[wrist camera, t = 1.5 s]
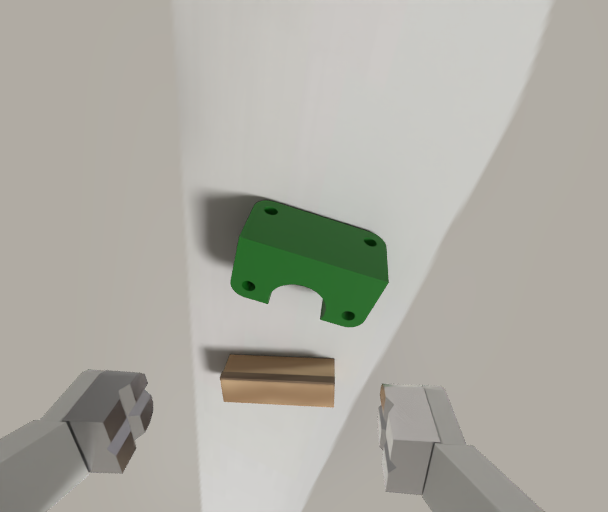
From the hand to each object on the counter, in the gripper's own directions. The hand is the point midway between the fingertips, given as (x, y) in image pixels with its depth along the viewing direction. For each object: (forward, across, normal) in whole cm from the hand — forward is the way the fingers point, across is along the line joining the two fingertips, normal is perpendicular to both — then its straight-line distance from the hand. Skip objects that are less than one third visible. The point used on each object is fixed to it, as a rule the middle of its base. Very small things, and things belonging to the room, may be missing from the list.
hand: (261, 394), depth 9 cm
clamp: (+22, 0, +6) cm, 22 cm away
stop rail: (+21, +3, +19) cm, 29 cm away
